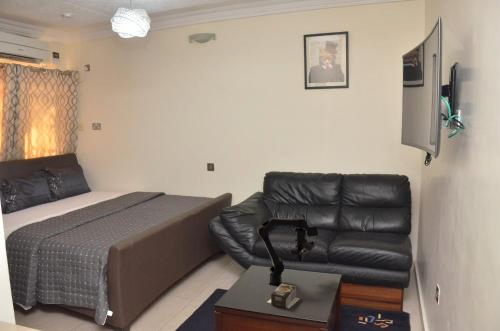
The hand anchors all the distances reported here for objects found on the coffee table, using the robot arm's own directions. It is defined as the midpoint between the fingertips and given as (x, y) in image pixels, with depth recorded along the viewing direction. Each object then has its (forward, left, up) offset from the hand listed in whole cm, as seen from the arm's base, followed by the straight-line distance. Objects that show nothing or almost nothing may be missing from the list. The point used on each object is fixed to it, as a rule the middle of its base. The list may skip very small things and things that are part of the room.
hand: (301, 261), depth 249 cm
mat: (+3, -30, -13) cm, 33 cm away
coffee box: (+2, -22, -10) cm, 24 cm away
